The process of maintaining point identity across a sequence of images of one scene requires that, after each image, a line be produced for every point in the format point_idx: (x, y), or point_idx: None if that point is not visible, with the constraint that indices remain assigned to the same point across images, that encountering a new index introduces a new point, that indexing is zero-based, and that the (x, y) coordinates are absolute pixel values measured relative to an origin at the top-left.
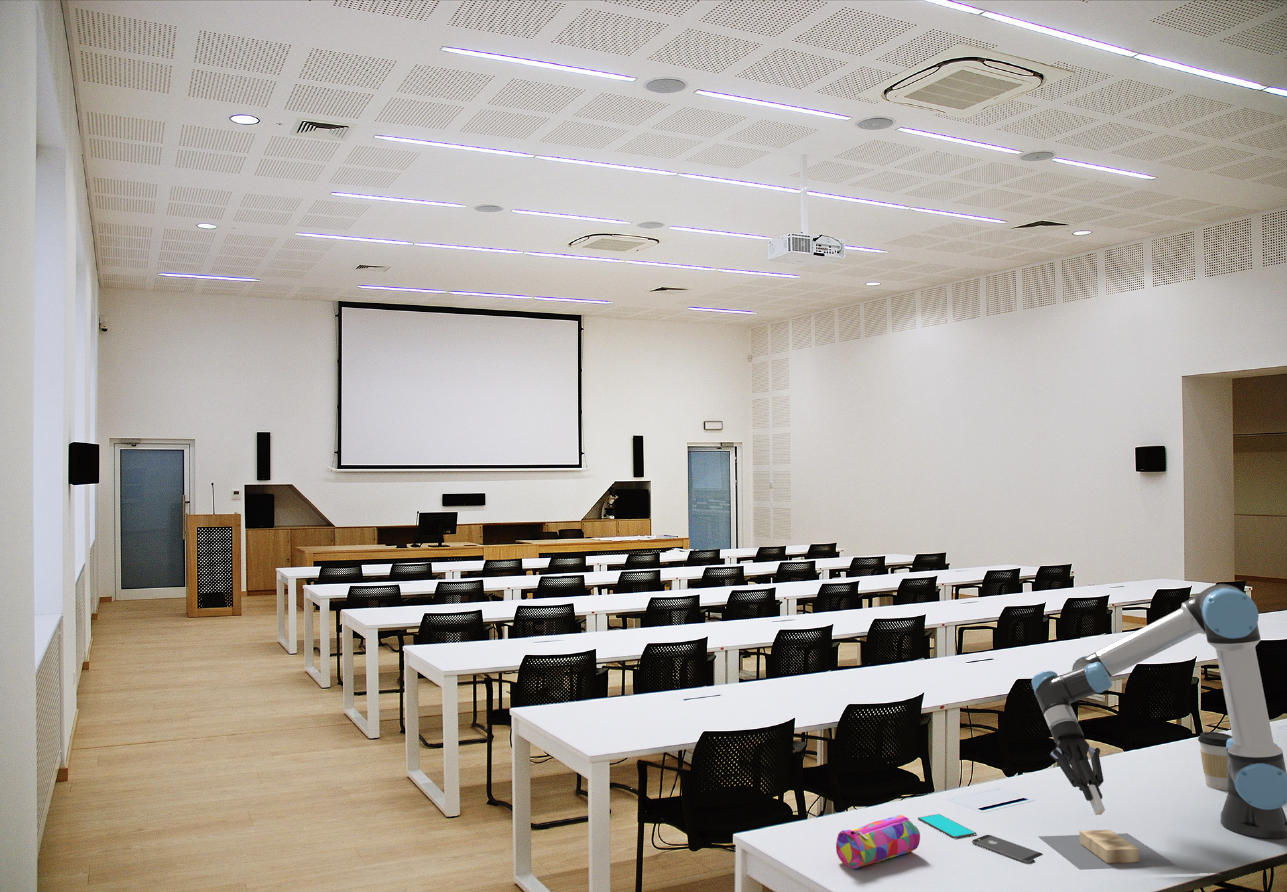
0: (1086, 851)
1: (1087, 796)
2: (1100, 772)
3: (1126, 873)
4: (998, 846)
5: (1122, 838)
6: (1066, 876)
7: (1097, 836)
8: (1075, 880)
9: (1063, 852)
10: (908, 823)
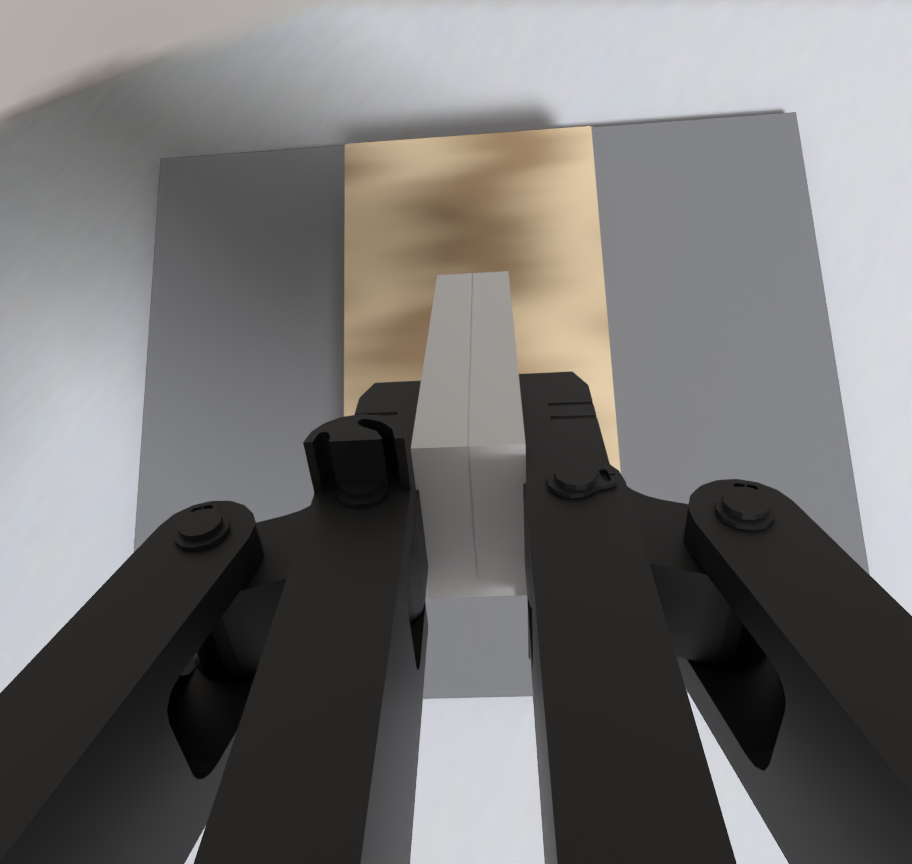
0: (620, 376)
1: (589, 392)
2: (62, 677)
3: (509, 104)
4: None
5: (350, 325)
6: (899, 66)
7: (528, 371)
8: (864, 18)
9: (797, 364)
10: None
